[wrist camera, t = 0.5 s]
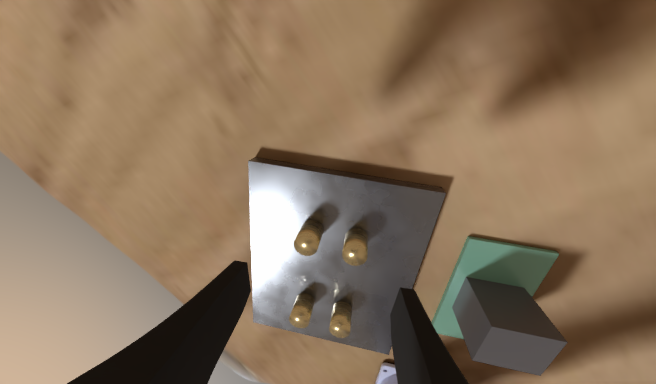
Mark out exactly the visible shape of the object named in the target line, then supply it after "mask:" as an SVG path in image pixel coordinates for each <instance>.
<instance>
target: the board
mask: <svg viewBox="0 0 656 384" xmlns="http://www.w3.org/2000/svg"><path fill="white" fill-rule="evenodd" d="M558 256H559V253H557V252H556V251H552V250H546V249H541V248H535V247H529V246H523V245H517V244H511V243H506V242H500V241H494V240H488V239H482V238H477V237H471V236H468V237H467V239H466V242H465V244H464V247H463V249H462V251H461V254H460V256H459V258H458V261H457V263H456V266H455V268H454V270H453V273H452V275H451V277H450V280H449V282H448V285H447V287H446V289H445V292H444V294H443V297H442V299H441V301H440V304H439V306H438V308H437V311H436V313H435V316H434V318H433V320H432V325H433V326H434V328H435V330H436V332H437V333H438V334H443V335H447V336H452V337H456V338H461V339H464V340H465V343H466V345H467V348H468V351H469V353H470V356H471V359H472V360H473V361H477V362H482V363H486V364H490V365H495V366H499V367H504V368H508V369H513V370H517V371H521V372H526V373H530V374H535V375H539V376H541V374H542V373H543V372H544V371H545V369H546V368H547V367H548V366H549V365H550V363H551V362H552V361H553V360H554V358H555V357H556V356H557V355H558V354H559V352H560V351H561V350H562V349H563V347H564V346H565V345H566V344H567V343H568V342H567V341H566V340H565V339H564V337H563V336H562V335H561V334H560V332H559V331H558V330H557V328H556V327H555V326H554V325H553V323H552V322H551V321H550V320H549V318H548V317H547V316H546V315H545V313H544V312H543V311H542V309H541V308H540V307H539V306H538V304H537V303H536V302H535V301H534V299H533V298H532V296H533V295H534V293H535V292H536V290H537V288H538V287H539V285H540V284H541V282H542V281H543V279H544V277H545V276H546V274H547V273H548V271H549V270H550V268H551V267H552V265H553V263H554V262H555V260H556V259H557V257H558Z"/></svg>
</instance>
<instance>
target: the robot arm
mask: <svg viewBox="0 0 656 384" xmlns="http://www.w3.org/2000/svg"><path fill="white" fill-rule="evenodd" d="M250 291H251V289H250V281H249V274H248V266H247V262H240V261H233V262H232V263H231V264H230V265H229V266H228V267H227V268H226V269H225V270H223V271H222V272H221V273H220V274H219V275H218V276H217V277H216V278H215V279H214V280H212V281H211V282H210V283H209V284H208V285H207V286H206V287H205V288H203V289H202V290H201V291H200V292H199V293H198V294H196V295H195V296H194V297H193V298H192V299H191V300H189V301H188V302H187V303H186V304H184V305H183V306H182V307H181V308H179V309H178V310H177V311H176V312H174V313H173V314H172V315H171V316H170V317H168V318H167V319H165V320H164V321H163V322H162V323H160V324H159V325H158V326H157V327H155V328H153V329H152V330H151V331H149V332H148V333H146V334H145V335H144V336H142V337H141V338H139V339H138V340H136V341H135V342H133V343H132V344H130V345H129V346H127V347H126V348H124V349H123V350H121V351H120V352H118V353H117V354H115V355H113V356H112V357H110V358H109V359H107V360H106V361H104V362H102V363H101V364H99V365H97V366H96V367H94V368H92V369H91V370H89V371H87V372H86V373H84V374H82V375H81V376H79V377H78V378H76V379H74V380H72V381H71V382H69V383H67V384H207V383H208V381H209V379H210V376H211V374H212V372H213V370H214V368H215V365H216V363H217V361H218V359H219V358H220V356H221V354H222V352H223V350H224V348H225V346H226V344H227V342H228V340H229V338H230V336H231V334H232V332H233V330H234V328H235V326H236V324H237V322H238V320H239V318H240V316H241V314H242V312H243V310H244V307H245V305H246V302H247V299H248V297H249V294H250ZM390 321H391V341H392V348H393V355H394V362H395V365H394V364H390V363H382V365H381V368H380V371H379V374H378V377H377V380H376V383H375V384H469V383H468V382H467V380H466V379H465V377H464V376H463V374H462V373H461V371H460V370H459V368H458V367H457V365H456V363H455V362H454V360H453V359H452V357H451V355H450V354H449V352H448V351H447V349H446V347H445V346H444V344H443V342H442V340H441V339H440V337H439V335H438V333H437V332H436V330H435V328H434V326H433V325H432V323H431V321H430V319H429V317H428V315H427V313H426V312H425V310H424V308H423V306H422V304H421V302H420V300H419V298H418V296H417V294H416V292H415V290H414V289H408V288H402V287H400V289H399V292H398V294H397V297H396V300H395V303H394V305H393V308H392V311H391V314H390Z"/></svg>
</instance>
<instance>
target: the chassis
mask: <svg viewBox="0 0 656 384" xmlns="http://www.w3.org/2000/svg"><path fill="white" fill-rule="evenodd" d="M248 164H249V196H250V229H251V261H252V294H253V322H255V323H259V324H264V325H268V326H272V327H276V328H280V329H284V330H288V331H293V332H297V333H301V334H305V335H309V336H313V337H317V338H322V339H326V340H330V341H334V342H338V343H342V344H346V345H351V346H355V347H359V348H363V349H367V350H371V351H375V352H380V353H384V354H388V355H389V352H390V349H391V347H392V341H391V321H390V314H391V311H392V308H393V305H394V303H395V300H396V297H397V294H398V292H399V289H400V287H402V288H408V289H412V288H413V285H414V282H415V279H416V276H417V273H418V271H419V268H420V265H421V262H422V259H423V257H424V254H425V251H426V248H427V245H428V243H429V240H430V237H431V234H432V231H433V228H434V226H435V223H436V220H437V217H438V214H439V212H440V209H441V206H442V203H443V200H444V198H445V195H446V193H445V191H444V190H443V189H442V187H436V186H429V185H423V184H417V183H411V182H405V181H398V180H392V179H386V178H380V177H374V176H368V175H361V174H355V173H349V172H343V171H337V170H330V169H324V168H318V167H312V166H306V165H299V164H293V163H287V162H281V161H275V160H269V159H262V158H256V157H254V158H253V159H251V160H249V161H248Z"/></svg>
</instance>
